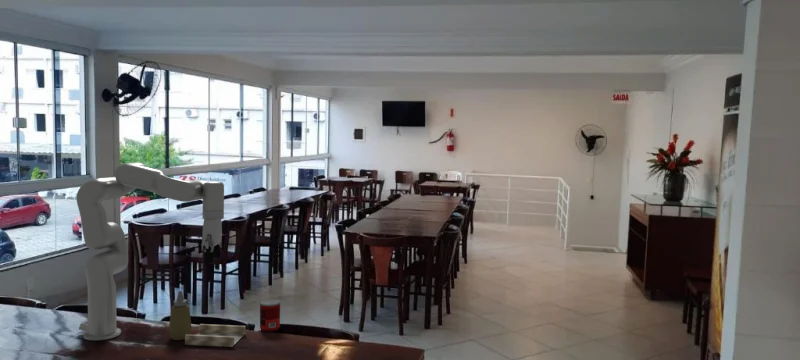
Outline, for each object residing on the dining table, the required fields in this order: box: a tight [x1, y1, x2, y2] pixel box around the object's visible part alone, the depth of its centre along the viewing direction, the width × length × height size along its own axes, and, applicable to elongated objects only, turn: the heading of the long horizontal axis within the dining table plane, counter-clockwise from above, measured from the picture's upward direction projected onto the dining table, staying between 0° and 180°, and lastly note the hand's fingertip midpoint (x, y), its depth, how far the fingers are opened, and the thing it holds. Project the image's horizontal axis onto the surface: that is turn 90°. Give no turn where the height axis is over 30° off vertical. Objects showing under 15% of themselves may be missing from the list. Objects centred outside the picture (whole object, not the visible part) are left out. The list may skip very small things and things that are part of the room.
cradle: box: [184, 323, 247, 348], centre depth 206 cm, size 18×13×4 cm
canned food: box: [259, 298, 281, 333], centre depth 220 cm, size 8×8×11 cm
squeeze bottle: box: [168, 290, 192, 341], centre depth 207 cm, size 8×8×18 cm
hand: (212, 260), depth 204 cm, fingers open, 9 cm apart
